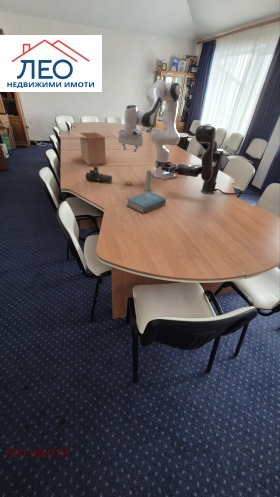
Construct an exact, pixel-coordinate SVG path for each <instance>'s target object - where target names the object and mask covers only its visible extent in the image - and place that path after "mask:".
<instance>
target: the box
mask: <svg viewBox="0 0 280 497" xmlns="http://www.w3.org/2000/svg"><path fill="white" fill-rule="evenodd" d="M70 133H71V134H72V135H74V136H75V137H77V138H79V144H80V153H81V160H83V162H85V163H86V165H87V166H95V165H97V166H98V165H106V163H107V162H106V158H107V157H106V138H113V137H114V136H113V135H111V134H109V133H108V132H105V131H98V132H96V131H95V130H92V129H91V130H77V132H76V131H70Z"/></svg>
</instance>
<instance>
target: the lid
mask: <svg viewBox="0 0 280 497" xmlns="http://www.w3.org/2000/svg"><path fill="white" fill-rule="evenodd" d="M132 182H133V181H131V180H126V181H125V185H126V186H132V185H133V183H132Z"/></svg>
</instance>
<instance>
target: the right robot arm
mask: <svg viewBox="0 0 280 497" xmlns="http://www.w3.org/2000/svg"><path fill="white" fill-rule="evenodd" d="M216 129H217V128H216V126H215V125H212V124H211V125H210V124H208V125H207V124H206V125H204V124H202V125H199V126H197V128H196V129H195V131H194V132H195V133H194V135H195V141H196V143H198V144H199V145H200V147H201V148H202V150H203V151H204V152H203V154H202V156H201V166H192V165H190V164H189V165H188V164H183V163H179V164H175V163H172V164H165V167H162V170H165V171H167V172H170V173H174V174H176V175H178V176H182V177H193V178H197V177H199V175H200V177H201V180H202V181H203V182H202V186H201V192H202V193H203V194H207V195H212V194H214V193H215V192H217V191H219V192H220V193H222V194H225V195H236V194H242V195H253V196H255V197H258V195H257V193H254V192H243V191H236V192H224V191H222V190H221V189H220V188H217V187H216V186H217V178H218V174H219V171H220V167H221V164H222V161H223V158H224V153H225V152H224V150H222V149H219V148H218V147H219V145H218V142H217V140H216V136H217V134H216V133H217V130H216ZM213 163H215V164H213ZM175 172H177V173H175Z"/></svg>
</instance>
